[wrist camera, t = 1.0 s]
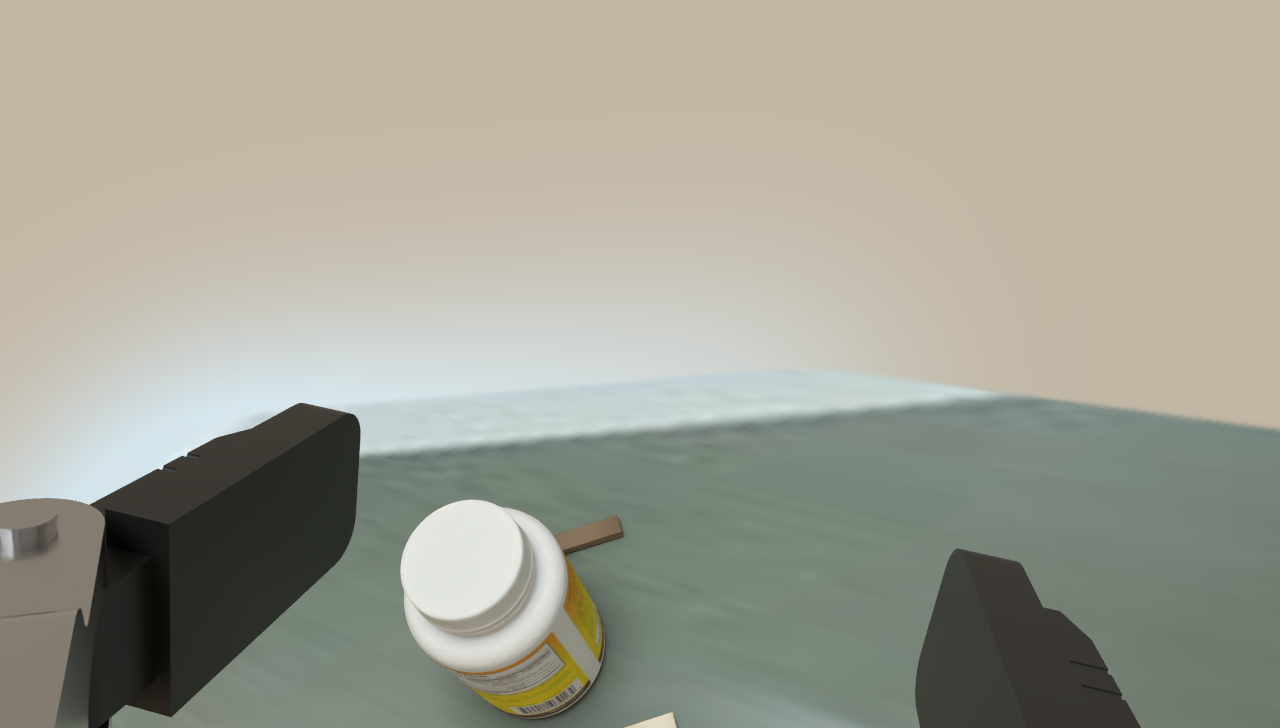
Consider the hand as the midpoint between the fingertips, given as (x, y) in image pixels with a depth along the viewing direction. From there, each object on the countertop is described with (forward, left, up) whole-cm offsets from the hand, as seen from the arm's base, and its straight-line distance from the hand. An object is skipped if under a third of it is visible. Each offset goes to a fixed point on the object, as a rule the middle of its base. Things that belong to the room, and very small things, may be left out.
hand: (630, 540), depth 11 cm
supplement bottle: (+6, -7, -24) cm, 26 cm away
